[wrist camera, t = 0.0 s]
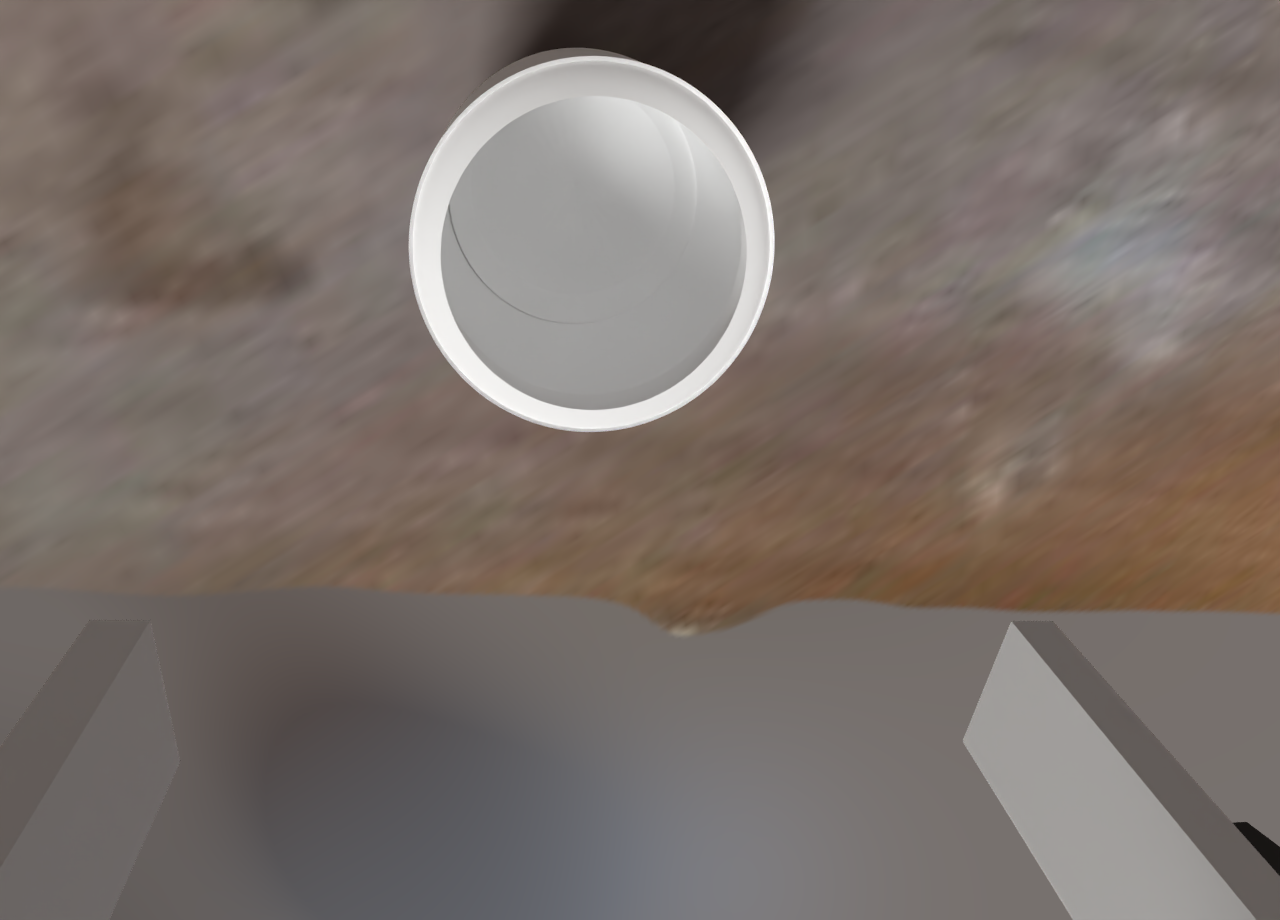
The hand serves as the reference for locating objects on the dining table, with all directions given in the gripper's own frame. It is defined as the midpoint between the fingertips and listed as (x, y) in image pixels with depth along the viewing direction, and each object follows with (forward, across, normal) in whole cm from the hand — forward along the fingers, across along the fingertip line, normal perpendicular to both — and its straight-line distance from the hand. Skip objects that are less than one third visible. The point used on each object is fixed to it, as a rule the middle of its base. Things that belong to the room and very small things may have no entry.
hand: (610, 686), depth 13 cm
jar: (+28, +1, +3) cm, 28 cm away
